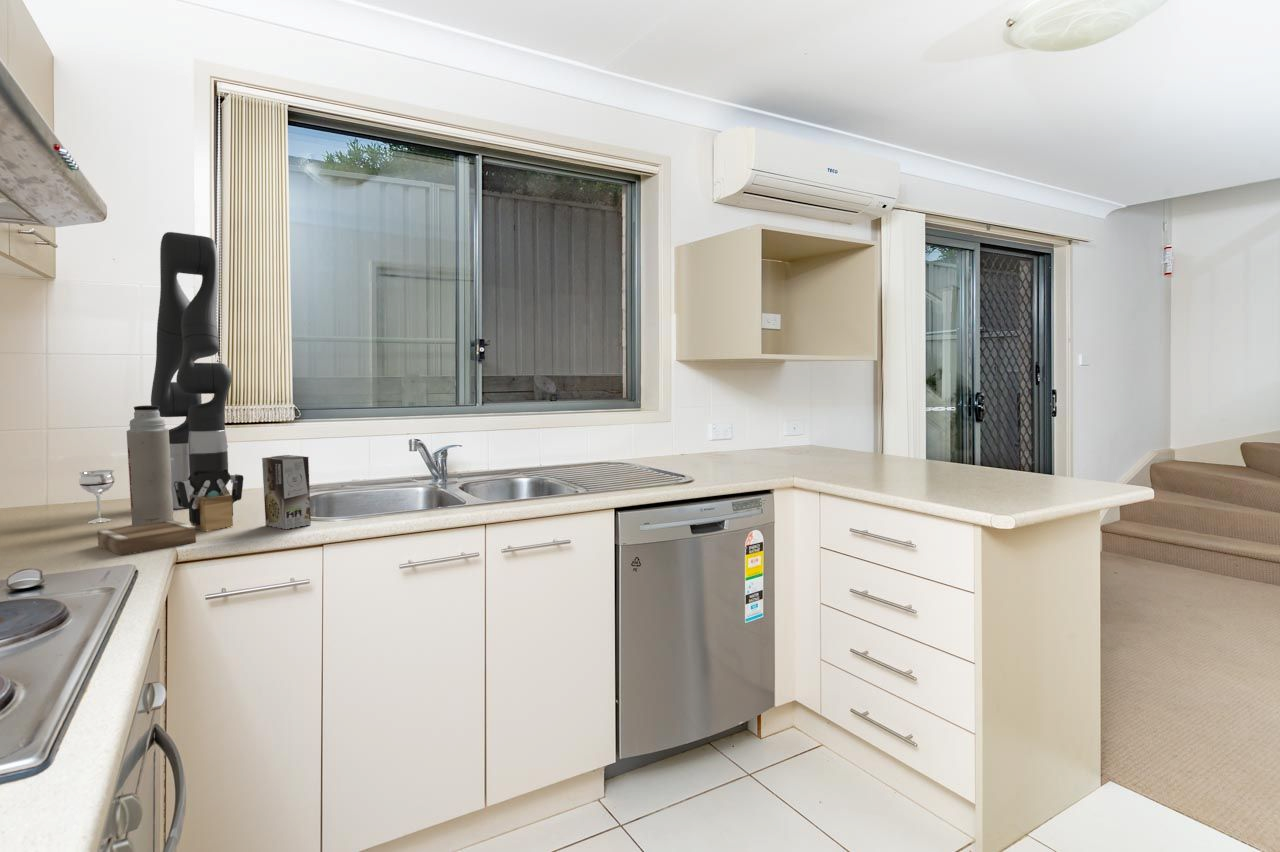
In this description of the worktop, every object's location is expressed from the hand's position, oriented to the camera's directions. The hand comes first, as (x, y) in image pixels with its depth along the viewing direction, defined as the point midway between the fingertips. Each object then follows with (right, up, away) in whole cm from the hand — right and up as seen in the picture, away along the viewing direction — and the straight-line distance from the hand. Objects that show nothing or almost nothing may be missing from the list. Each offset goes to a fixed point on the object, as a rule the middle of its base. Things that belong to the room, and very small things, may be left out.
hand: (211, 522), depth 157 cm
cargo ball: (0, +5, 0) cm, 5 cm away
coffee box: (+17, -1, +1) cm, 17 cm away
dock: (-3, -2, -16) cm, 17 cm away
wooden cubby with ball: (0, -1, 0) cm, 1 cm away
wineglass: (-31, -1, +7) cm, 32 cm away
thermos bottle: (-15, -1, +3) cm, 16 cm away
